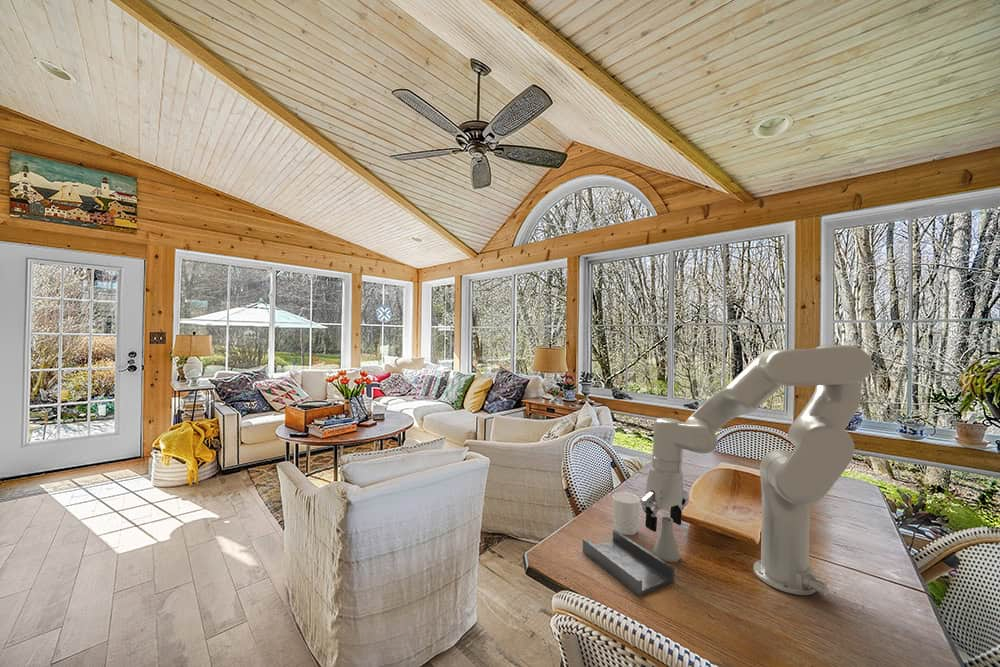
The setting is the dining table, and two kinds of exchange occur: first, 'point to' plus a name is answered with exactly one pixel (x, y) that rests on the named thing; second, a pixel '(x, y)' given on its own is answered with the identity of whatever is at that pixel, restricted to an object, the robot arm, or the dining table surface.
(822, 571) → the dining table surface
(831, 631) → the dining table surface
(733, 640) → the dining table surface
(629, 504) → the white cup
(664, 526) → the flask
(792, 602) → the dining table surface
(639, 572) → the track
